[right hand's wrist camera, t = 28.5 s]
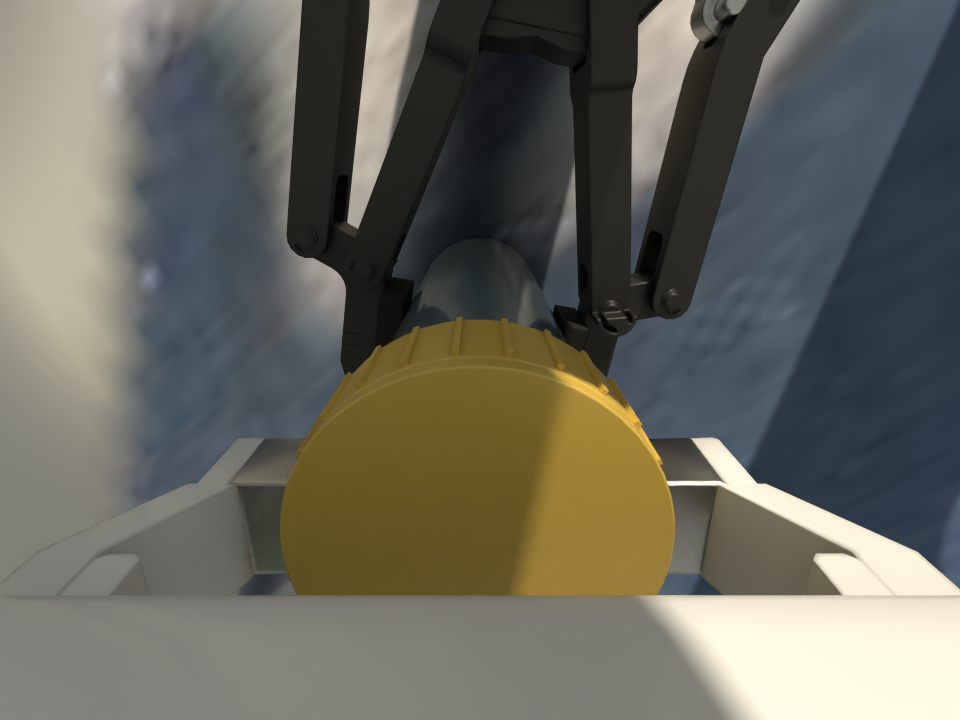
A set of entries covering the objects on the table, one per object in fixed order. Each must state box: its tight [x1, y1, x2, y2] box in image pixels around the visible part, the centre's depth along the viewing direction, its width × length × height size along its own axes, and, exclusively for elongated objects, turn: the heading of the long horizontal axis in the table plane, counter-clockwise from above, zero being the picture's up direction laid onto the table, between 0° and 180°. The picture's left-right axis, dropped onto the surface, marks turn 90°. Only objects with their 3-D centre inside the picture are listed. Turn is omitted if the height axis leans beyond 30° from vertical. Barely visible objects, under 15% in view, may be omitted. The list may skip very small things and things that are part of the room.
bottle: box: [391, 238, 567, 344], centre depth 16 cm, size 5×5×16 cm
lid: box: [280, 317, 675, 595], centre depth 9 cm, size 6×6×2 cm
